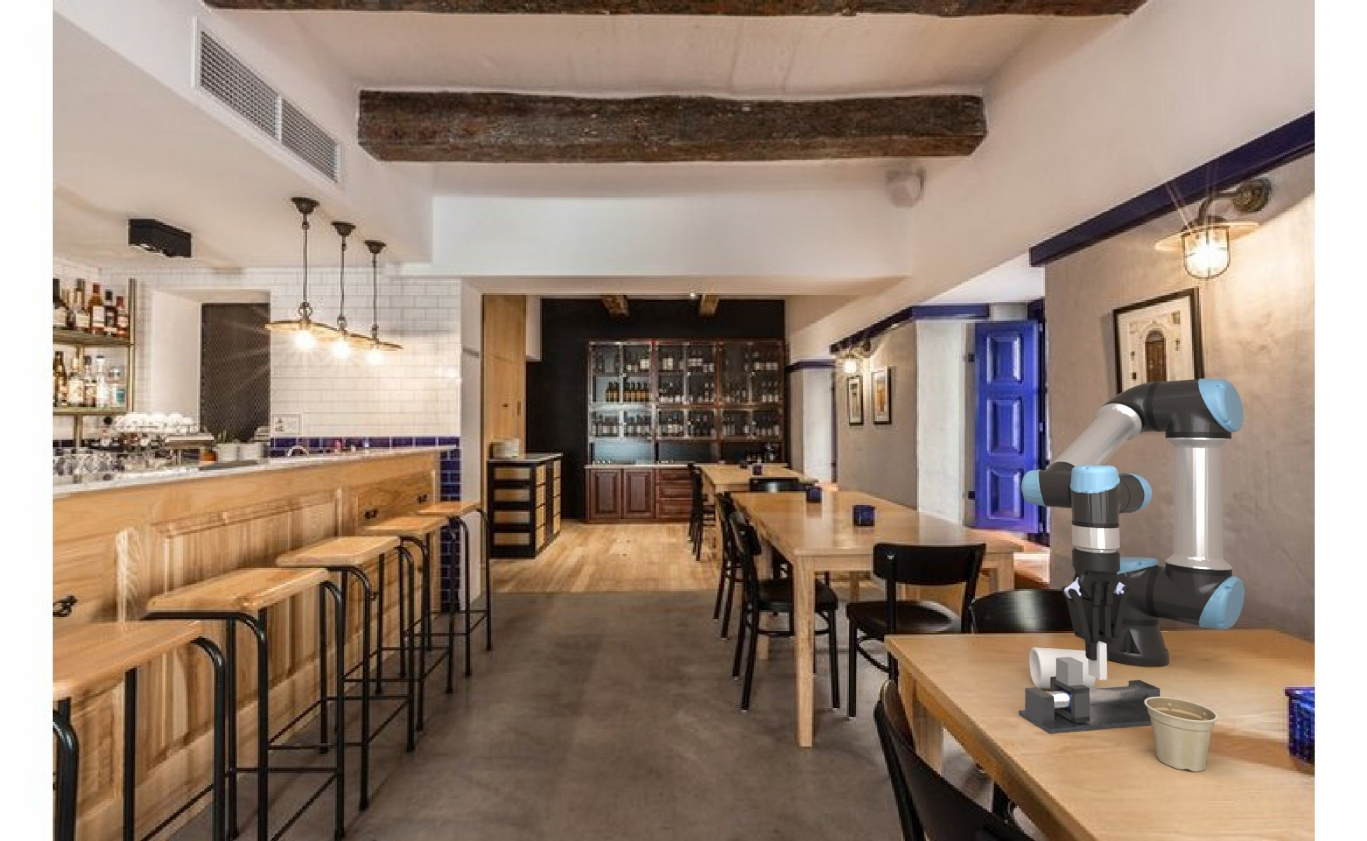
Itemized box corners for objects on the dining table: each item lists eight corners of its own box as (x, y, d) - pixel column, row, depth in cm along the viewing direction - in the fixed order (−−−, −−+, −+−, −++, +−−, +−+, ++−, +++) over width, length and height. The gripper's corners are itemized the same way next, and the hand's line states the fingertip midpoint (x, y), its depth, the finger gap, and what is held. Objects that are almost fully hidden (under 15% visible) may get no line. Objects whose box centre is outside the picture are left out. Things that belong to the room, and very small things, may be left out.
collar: (1064, 708, 123) (1064, 654, 123) (1089, 721, 117) (1089, 665, 117) (1050, 709, 122) (1050, 655, 123) (1075, 722, 116) (1074, 666, 117)
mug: (1096, 698, 130) (1095, 657, 131) (1041, 694, 132) (1041, 654, 133) (1073, 676, 142) (1072, 639, 142) (1023, 673, 144) (1022, 636, 144)
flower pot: (1220, 761, 105) (1220, 707, 105) (1217, 784, 98) (1216, 726, 98) (1149, 743, 111) (1148, 691, 111) (1140, 763, 104) (1140, 708, 104)
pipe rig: (1131, 705, 127) (1131, 676, 127) (1169, 723, 119) (1168, 691, 119) (1018, 714, 122) (1018, 683, 122) (1049, 733, 114) (1049, 700, 115)
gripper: (1109, 544, 126) (1112, 667, 126) (1049, 546, 124) (1051, 672, 124) (1143, 551, 119) (1145, 682, 118) (1079, 553, 117) (1082, 687, 116)
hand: (1097, 676), depth 121 cm, fingers closed
